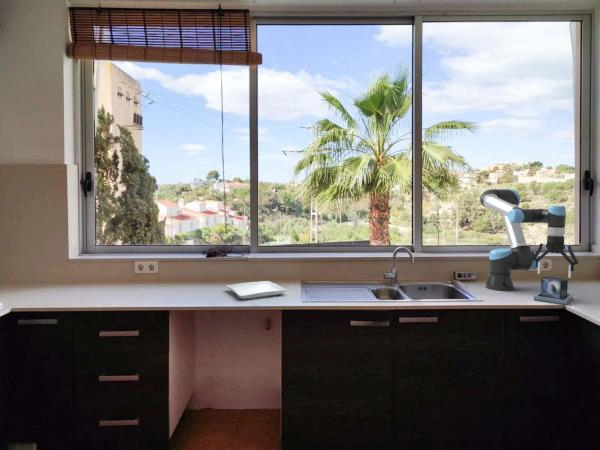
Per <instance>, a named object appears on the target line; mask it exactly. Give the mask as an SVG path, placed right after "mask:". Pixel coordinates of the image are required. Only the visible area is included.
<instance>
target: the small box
mask: <svg viewBox="0 0 600 450" xmlns="http://www.w3.org/2000/svg"><path fill="white" fill-rule="evenodd" d="M568 284H569V279H565V278H559V277H555V276H549V275H547V276H543V277H542V276H541V277H540V291H541V296H543V297H547V298H554V299H561V300H565V299H566V298H567V294H568V289H569V288H568Z"/></svg>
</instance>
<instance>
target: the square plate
mask: <svg viewBox="0 0 600 450" xmlns="http://www.w3.org/2000/svg"><path fill="white" fill-rule="evenodd" d="M226 287H227V289H228V290H230V291H231V292H233V293H234V294H235V295H236V296H237V297H238V298H240V299H241V300H246V299H256V298H257V297H258V298H264V297H265V298H266V297H270V296H271V297H272V295H273V296H277V295H281V294H284V293H285V292H287V289H286V288H285V287H282V286H280V285H278V284H277V283H275V282H272V281H270V280H263V281H251V282H250V281H249V282H240V283H235V284H228V285H226Z"/></svg>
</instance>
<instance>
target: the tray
mask: <svg viewBox="0 0 600 450" xmlns="http://www.w3.org/2000/svg"><path fill="white" fill-rule="evenodd" d="M573 298H574V294H573V293H567V298H566V299H565V300H561V299H554V298H547V297H543V296H541V290H540V291H539V292H537V293H536V294H534V295H533V301H537V302H543V303H549V304H553V305H554V304H555V305H562V306H567V305H568V304H569V303H571V301H573Z"/></svg>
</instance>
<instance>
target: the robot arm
mask: <svg viewBox="0 0 600 450" xmlns="http://www.w3.org/2000/svg"><path fill="white" fill-rule="evenodd" d="M520 197H521V196H520V194H519V192H518V191H516V190H515V189H513V188H512V189H510V188H503V189H502V188H501V189H498V188H497V189H487V190H485V191H483V192H482V193H481V195H480V197H479V202H480V204H481V205H482V207H484V208H485V209H488V210H491V209H492V210H493V211H495V212H498V213H499V214H501V217H502V221H503V224H504V228H505V232H506V235H507V236H506V237H507V239H508V243H509V245H510V247H509V248H508V247H507V248H495V249H492V250H490V251H489V257H488V259H489V260H488V261H489V263H488V267H489V268H488V276H487V278H486V281H485V286H484V287H485V288H487V289H490V290H495V291H505V292H506V291H507V292H509V291H514V289H515V284H514V281H513V278H512V271H526V272H527V271H533V270H535V269H536V268H537V274H538V275H540V274H541V270H542V269H541V268H542V267H541V266H542V261H541V260H542V259H543V258H544V257H545V256H546V255H548V254H549V253H550V254H561V256H563V258H564V259H565V260H566V261H567V262H568V271H567V272H568V274H567V275H568V276H567V277H568V279H570V278H572V272H574V271H575V265H579V261H578V258H577V257H576V254H575V252H574V251H573V248H572V245H565V238H566V237H565V235H566V234H565V232H566V217H567V216H566V215H567V212H566V211H567V210H566V206H564V205H549V207H548V208H522V207H520V206H519V205H520V203H521V198H520ZM527 223H528V224H537V223H538V224H539V223H540V224H547V231H546V232H547V236H546V244H545V243H542V242H541V243H540V244H539V246H538V249H537V250H536V251H535V250H532V248H531V245H529V244H527V242H526V238H525V234H524V232H523V228H522V224H527ZM544 248H546V249H547V250H545V251H544V252H543V253H542V254H541V255H539V254H540V253H541V252H542V250H543V249H544ZM565 249H566V250H567V251H568V253H569V256H570V257H571V258H570V257H569V256H568V254H567V253H566V252H565V251H564V250H565Z"/></svg>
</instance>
